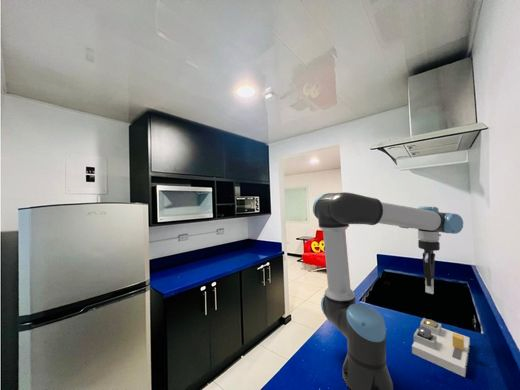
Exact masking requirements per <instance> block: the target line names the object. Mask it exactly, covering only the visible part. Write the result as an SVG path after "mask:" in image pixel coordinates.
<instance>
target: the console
mask: <svg viewBox="0 0 520 390" xmlns="http://www.w3.org/2000/svg"><path fill="white" fill-rule="evenodd" d="M425 319H426V318H425V317H423V318H422V319H421V321H420V325H419V327H425V328H428V329H429V330H431V340H428V339H425V338H422V337H420V336H419V328H416V331H415V332H414V334H413V343H412V345H411V353H412V355H415V356H418V357H420V358H421V359H424V360H426V361H427V362H431V363H433V364H434V365H437V366H438V367H442V368H443V369H446V370H448V371H450V372H452V373H454V374H457V375H459V376H461V377H464V378H466V373H467V367H466V366H468V361H469V354H468V353H470V347H469V346H471V340H470V337H469V336H467V335H464V334H460V333H458V332H455V331H451V330H449V329H446V328H443V327H442V323H439V322H436V321H435V322H436V323H437V328H434V327H431V326H429V325H426V324H425ZM453 333H455V334H458V335H461V336H464V350H461V349H458V348H456V347H453V338H452V336H453Z"/></svg>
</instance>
